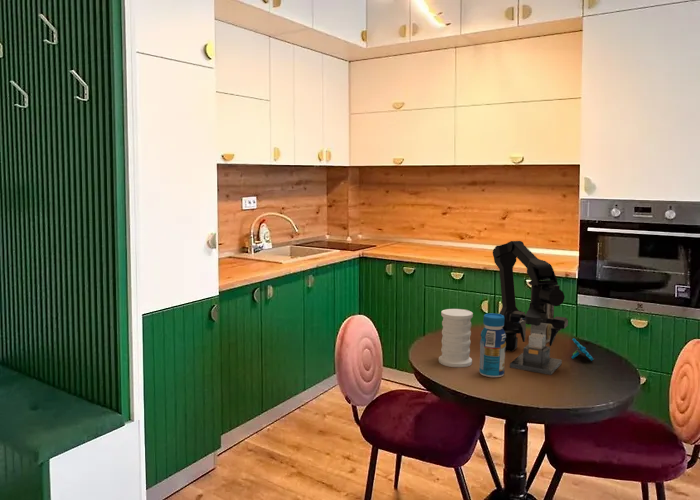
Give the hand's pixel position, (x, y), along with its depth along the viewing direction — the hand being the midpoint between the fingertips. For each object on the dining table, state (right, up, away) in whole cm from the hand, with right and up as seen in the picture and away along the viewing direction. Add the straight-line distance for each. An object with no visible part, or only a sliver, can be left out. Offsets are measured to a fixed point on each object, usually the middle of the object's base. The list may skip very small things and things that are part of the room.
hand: (537, 343), depth 216 cm
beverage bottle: (-18, -9, -8) cm, 21 cm away
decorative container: (-28, -7, +4) cm, 29 cm away
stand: (0, -8, +1) cm, 8 cm away
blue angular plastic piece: (+19, -7, +9) cm, 22 cm away
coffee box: (+11, -4, +33) cm, 35 cm away
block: (0, -6, +1) cm, 6 cm away
